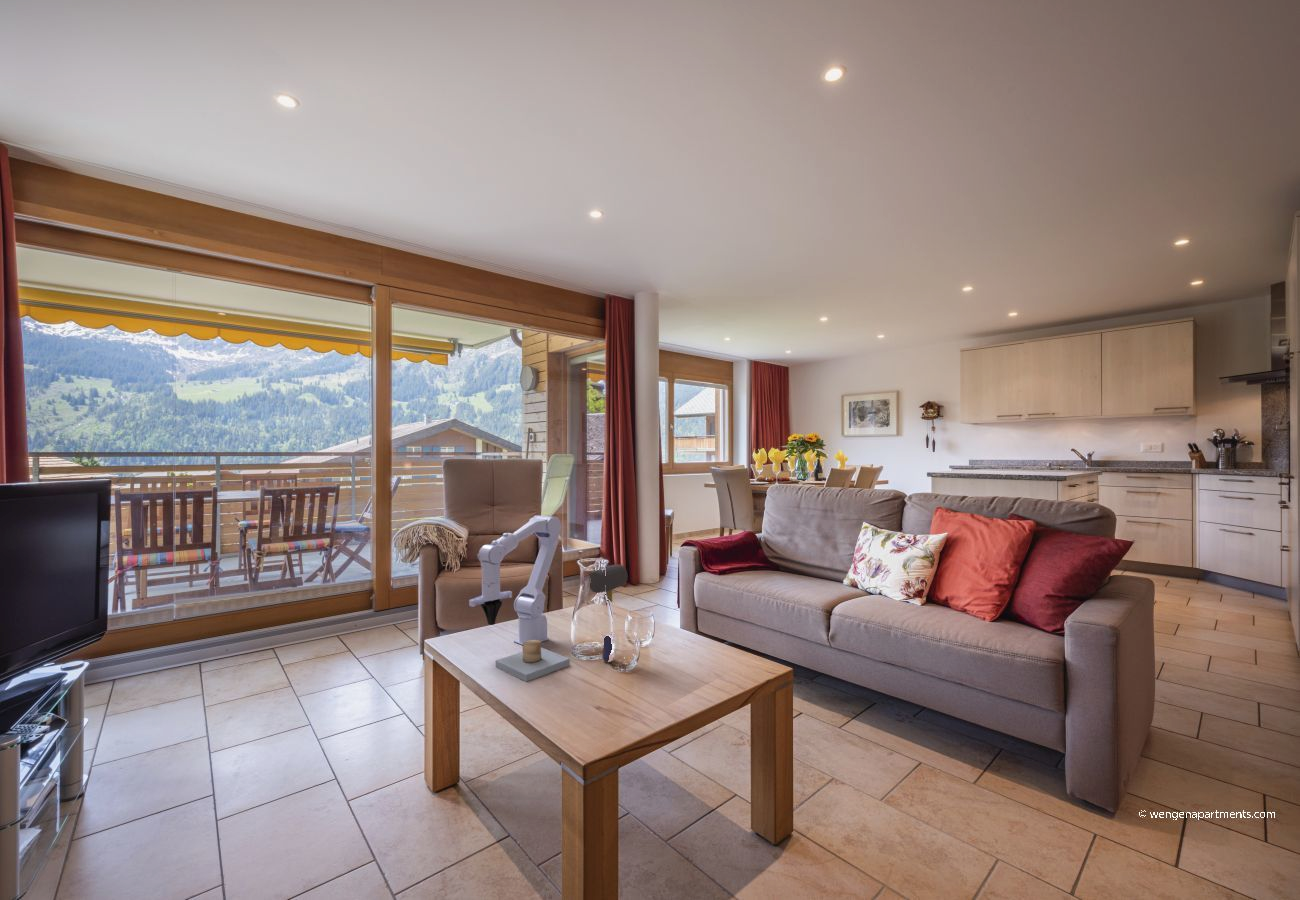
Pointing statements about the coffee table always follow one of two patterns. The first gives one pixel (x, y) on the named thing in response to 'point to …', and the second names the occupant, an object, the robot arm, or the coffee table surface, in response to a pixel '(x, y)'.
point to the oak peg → (532, 651)
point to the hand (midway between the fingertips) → (491, 623)
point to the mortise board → (532, 665)
